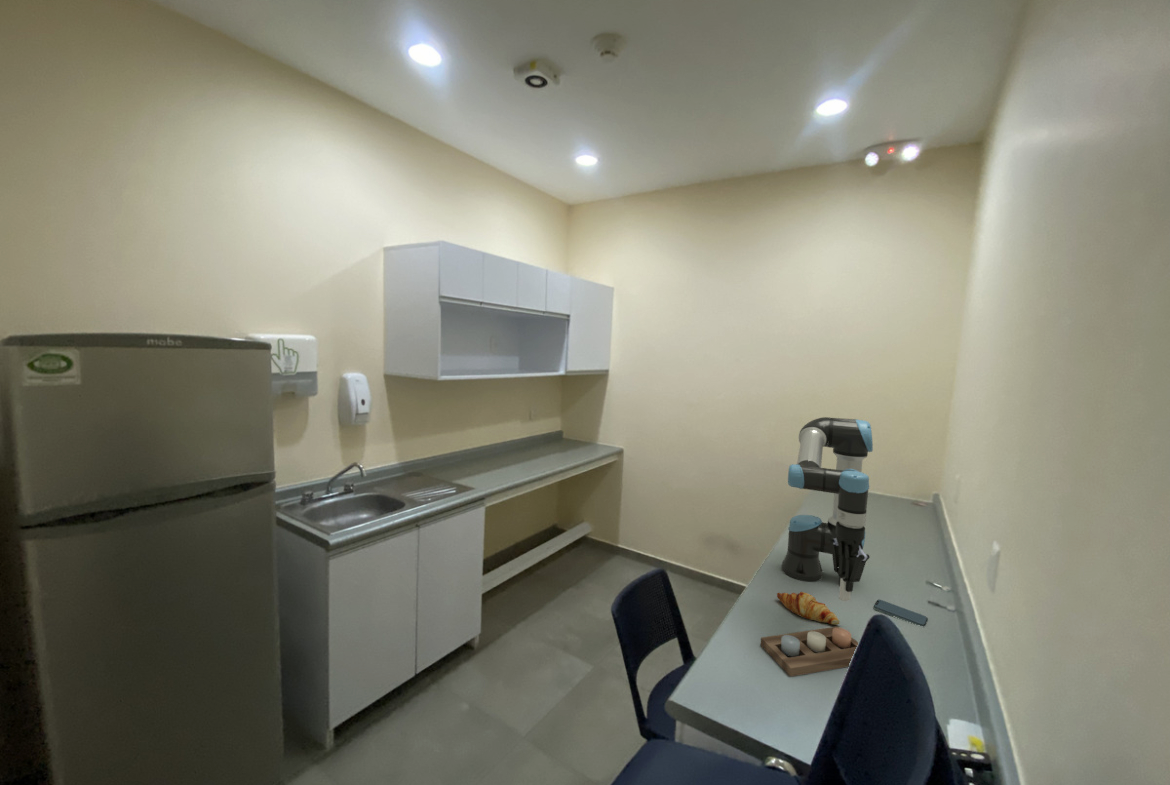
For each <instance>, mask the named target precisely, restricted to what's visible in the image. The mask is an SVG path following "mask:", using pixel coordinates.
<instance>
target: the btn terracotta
mask: <svg viewBox="0 0 1170 785" xmlns="http://www.w3.org/2000/svg"><path fill="white" fill-rule="evenodd" d="M851 637H852V633H851V632H850V631H849V630H847V629H845V628H843V627H839V628H834V629H833V632H832V643H833V644H835V645H836V646H837V647H838V648H839V649H846V648H850V646H851Z"/></svg>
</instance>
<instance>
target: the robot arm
mask: <svg viewBox="0 0 1170 785" xmlns="http://www.w3.org/2000/svg"><path fill="white" fill-rule="evenodd" d="M798 442H799V444H800V445H799V449H798V450H799V451H798V455H797V456H798V457H797V462H796V464H794V463H793V464H790V465H789V467H788V472H787V483H788V484H787V485H788V486H789V487H791V488H796V489H799V490H809V491H814V492H815V491H816V492H824V493H829V494H830V493H831V494H833V503H832V504H833V505H832V515H831V516H830V517H829V518H827V522H823V520H822V518H821V517H819V516H815V515H814V514H813V515H811V514H799V515H794V516H792V517H791V518H790V520H789V524H788V525H789V526H788V539H787V540H788V542H787V551H786V554H785V556H784V559H783V561H782V562H781V571H782V572H783V573H784V574H785V575H787V576H789V577H790V578H792V579H795V580H799V581H804V582H817V581H820V580H823V579H822V578H823V574H824V573H823V567H822V564H821V561H820V553H824V554H829V555H832V562H833V563H832V564H833V571H834V572H835V573H837V575H838V577H839V578H838V587H839V596H838V599H839V600H840V601H842V602H849V601H851V595H852V594H851V593H852V592H853V588H854V583H858V582H860V581H861V578H862V575H863V573H864V569H865V567H866V566H865V565H866V562H867V561H868V560H869V559H870V555H869V553H865V552H864V547H865V546H864V545H865V541H866V536H867V535H866V528H865V527H866V522H867V507H868V506H867V505H868V498H869V489H870V478H869V475H868V474H866V473H864V472H862V470H863V460H864V459H866V458H868V455H869V454H868V453H872V452H873V450H874V449H873V432H872V425H871V423H870V422H869V421H867V420H863V419H862V420H861V419H856V418H854V419H853V418H839V417H838V418H837V417H827V416H825V417H824V416H823V417H819V418H815V419H812V420H811V421H808V422H807V423H806V424H804V426H802V428H801V429H800V431H799V434H798ZM824 447H826V448H831V449H832V454H834V456H836V468H835V469H834V468H827V467H822V460H823V448H824Z"/></svg>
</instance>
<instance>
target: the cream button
mask: <svg viewBox="0 0 1170 785" xmlns="http://www.w3.org/2000/svg"><path fill="white" fill-rule="evenodd" d="M825 646H826V637H825V636H824V635H823V634H821V633H819V632H815V631H810V632H808V634H807V647H808V648H809V649H810V650H811V651H812V652H813V653H821V652H825Z"/></svg>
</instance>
